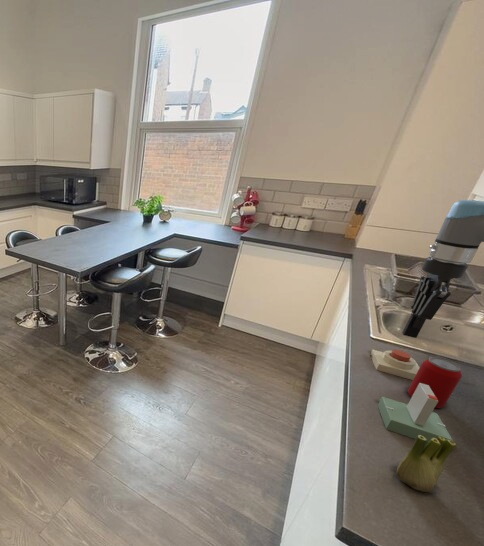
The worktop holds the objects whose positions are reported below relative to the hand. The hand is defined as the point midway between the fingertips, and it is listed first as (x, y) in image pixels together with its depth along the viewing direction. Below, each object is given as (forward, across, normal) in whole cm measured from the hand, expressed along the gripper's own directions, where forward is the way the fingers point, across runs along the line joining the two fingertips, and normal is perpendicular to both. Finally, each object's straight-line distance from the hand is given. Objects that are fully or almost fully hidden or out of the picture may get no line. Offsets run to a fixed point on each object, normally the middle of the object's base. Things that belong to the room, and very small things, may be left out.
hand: (409, 335), depth 91 cm
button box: (+12, 0, 0) cm, 12 cm away
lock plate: (+12, +28, -3) cm, 31 cm away
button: (+8, 0, 0) cm, 8 cm away
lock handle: (+9, +28, -3) cm, 29 cm away
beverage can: (+12, +14, +3) cm, 19 cm away
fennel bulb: (+12, +47, -7) cm, 49 cm away
